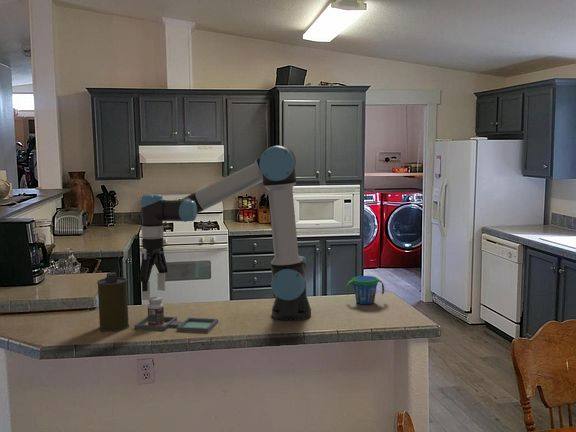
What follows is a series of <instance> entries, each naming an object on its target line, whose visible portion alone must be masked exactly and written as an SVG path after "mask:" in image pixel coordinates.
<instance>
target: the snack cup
mask: <svg viewBox="0 0 576 432" xmlns="http://www.w3.org/2000/svg"><path fill="white" fill-rule="evenodd" d="M351 283H352V286H353V289H354V297H355V301H356V303H358V304H359V305H372V304H374V303H375V300H376V295H377V287H378V283H381V289H382V290H381V294H382V295H384V294H385V285H384V282H383V281H382V280H380V279H379V278H378V277H376V276H372V275H359V276H354V277H352V279H351V280H349V281H348V282H347V284H346V286H345V287H346V288H345V292H346V295H347V296H349V289H348V287H349V285H350V284H351Z"/></svg>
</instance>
